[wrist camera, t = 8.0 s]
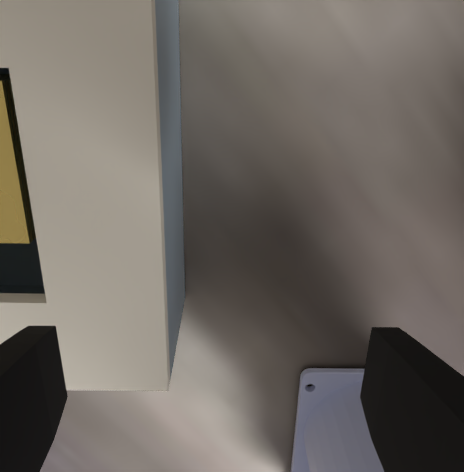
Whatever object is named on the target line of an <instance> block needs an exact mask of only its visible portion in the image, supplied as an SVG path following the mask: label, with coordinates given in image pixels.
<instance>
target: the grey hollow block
mask: <svg viewBox="0 0 464 472" xmlns="http://www.w3.org/2000/svg"><path fill="white" fill-rule="evenodd" d="M0 74H10V79H11V85H12V92H13V98H14V104H15V110H16V116H17V123H18V129H19V135H20V141H21V147H22V153H23V160H24V166H25V172H26V178H27V184H28V191H29V197H30V203H31V209H32V215H33V222H34V228H35V234H36V238H35V239H34V240H33V241H32V242H31V243H30V244H29V243H0V344H1V343H3V342H4V341H6V340H7V339H9V338H10V337H12V336H13V335H14V334H16V333H18V332H19V331H21V330H22V329H24V328H26V327H27V326H56V331H57V337H58V343H59V349H60V355H61V361H62V367H63V373H64V379H65V385H66V390H102V391H168V390H169V384H170V378H171V373H172V367H173V362H174V356H175V351H176V345H177V339H178V334H179V328H180V323H181V317H182V312H183V306H184V300H185V271H184V227H183V182H182V138H181V93H180V49H179V4H178V0H0Z"/></svg>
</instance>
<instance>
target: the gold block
mask: <svg viewBox="0 0 464 472" xmlns="http://www.w3.org/2000/svg"><path fill="white" fill-rule="evenodd" d="M35 238H36V234H35V228H34V222H33V215H32V209H31V203H30V197H29V191H28V184H27V178H26V172H25V166H24V160H23V153H22V147H21V141H20V135H19V129H18V123H17V116H16V110H15V104H14V98H13V92H12V85H11V79H10V74H0V243H29V244H30V243H31V242H32V241H33V240H34V239H35Z"/></svg>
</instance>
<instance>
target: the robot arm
mask: <svg viewBox="0 0 464 472" xmlns="http://www.w3.org/2000/svg"><path fill="white" fill-rule="evenodd" d="M308 384H313V385H312V386H310V387H307V385H308ZM66 400H67V391H66V385H65V379H64V373H63V367H62V361H61V355H60V349H59V343H58V337H57V331H56V326H27V327H26V328H24V329H22V330H21V331H19V332H18V333H16V334H14V335H13V336H12V337H10V338H9V339H7V340H6V341H4V342H3V343H1V344H0V472H40V469H41V467H42V465H43V463H44V461H45V458H46V456H47V454H48V452H49V449H50V447H51V445H52V443H53V440H54V438H55V435H56V432H57V429H58V426H59V423H60V420H61V416H62V413H63V410H64V406H65V403H66ZM291 472H464V376H462V375H461V374H460V373H458V372H457V371H456V370H454V369H453V368H452V367H450V366H449V365H448V364H446V363H445V362H444V361H443V360H441V359H440V358H439V357H437V356H436V355H435V354H433V353H432V352H431V351H430V350H428V349H427V348H426V347H424V346H423V345H422V344H420V343H419V342H418V341H416V340H415V339H414V338H412V337H411V336H410V335H408V334H407V333H406V332H404V331H403V330H401V329H400V328H397V327H372V330H371V335H370V341H369V347H368V353H367V359H366V364H365V369H346V368H308V369H305V370H304V371H303V372H302V373H301V375H300V385H299V394H298V404H297V414H296V424H295V434H294V444H293V454H292V464H291Z"/></svg>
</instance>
